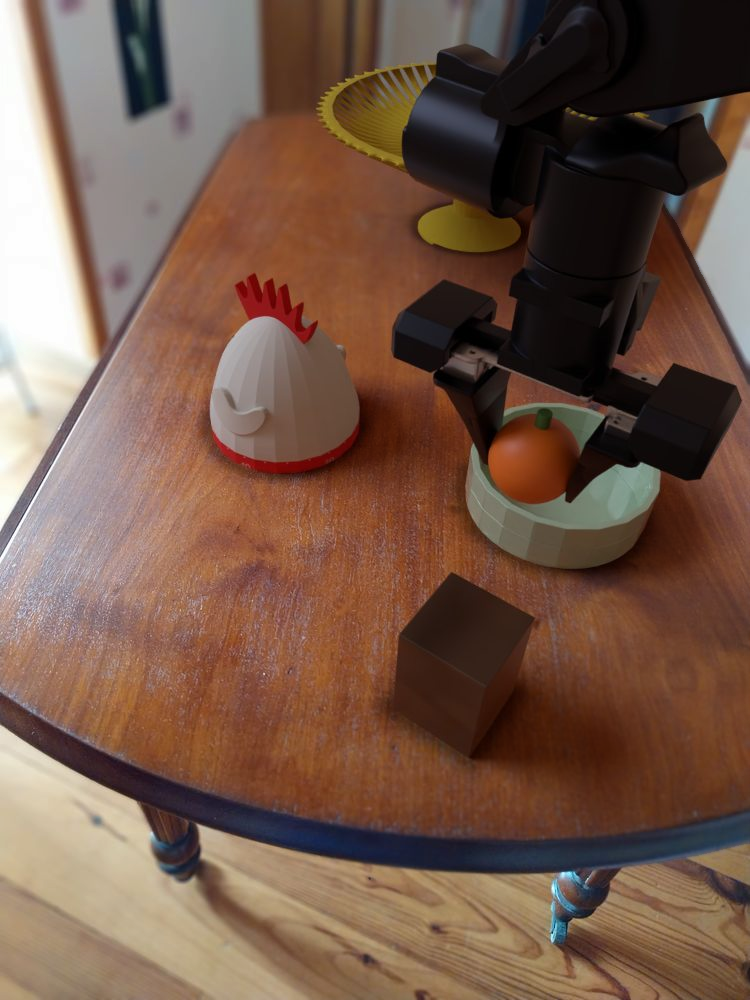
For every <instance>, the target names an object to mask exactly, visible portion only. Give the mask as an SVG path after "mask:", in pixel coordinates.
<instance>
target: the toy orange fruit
mask: <svg viewBox="0 0 750 1000" xmlns="http://www.w3.org/2000/svg"><path fill="white" fill-rule="evenodd" d="M552 416H553V413H552V411H551V410H549V409H546V408H541V409H539V410H538V412H537V414H527V415H522V416H519V417H517V418H514V419H512V420H511V421H509V422H508V423H506V424H505V425H504V426H503V427H502V428H501V429H500V430H499V431H498V432H497V434H496V435H495V437H494V439H493V441H492V443H491V446H490V449H489V455H488V464H489V470H490V473H491V476H492V478H493V480H494V482H495V484H496V485H497V487H498V488H499V489H500V490H501V491H502V492H503V493H504V494H505V495H507V496H508V497H510V498H512V499H513V500H516V501H518V502H521V503H526V504H541V503H546V502H549V501H552V500H554V499H556V498H558V497H560V496H561V495H562V494H564V493H565V492H566V488H567V486H568V483H569V481H570V479H571V476H572V474H573V471H574V469H575V467H576V464H577V462H578V459H579V457H580V449H579V445H578V443H577V440H576V438H575V436H574V435H573V433H572V432H571V431H570V429H569V428H568V427H567V426H566V425H565V424H563V423H562V422H561V421H559V420H557V419H555V418H553V417H552Z"/></svg>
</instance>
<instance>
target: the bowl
mask: <svg viewBox="0 0 750 1000" xmlns="http://www.w3.org/2000/svg"><path fill="white" fill-rule="evenodd" d="M541 408H546V409H549V410H551V411H552V413H553V416H552V417H553V418H555V419H557V420H559V421H561V422H562V423H563V424H565V425H566V426H567V427H568V428H569V429H570V431H571V432H572V433H573V435H574V436H575V438H576V440H577V443H578V445H579V449H580V454H581V452H582V450H583V447H584V445H585V443H586V442H587V440H588V439H589V438H590V436H591V435H592V434H593V432H594V431H595V430H596V428H597V427H598V426H599V424H600V423H601V422H602V420H603V419H604V418H605V413H601V412H599V411H596V410H594V409H592V408H588V407H583V406H578V405H574V404H569V403H562V402H533V403H528V404H522V405H517V406H512V407H509V408H507V409H504V417H503V425H502V427H503V426H504V425H505V424H506V423H508V422H509V421H511V420H512V419H514V418H517V417H519V416H522V415H527V414H537V412H538V410H539V409H541ZM661 475H662V471H661V470H658V469H656V468H654V467H651V466H649V465H647V464H644V463H642V462H641V463H640V464H639V466H637V467H635V468H627V467H624V466H622V465H618V464H616V465H615V466H613V467H612V468H610V469H608V470H607V471H605V472H604V473H602V474H601V475H599V476H598V477H596V478H595V479H594V480H592V481H591V482H590V483H589V484H588V485H587V487H586V488H585V489H584V490H583V491H582V492H581V493H580V494H579V495H578V496H577V497H576V498H575V499H574V500H573V501H572V502H571V503H568V502H566V501H565V494H566V492H565V493H564V494H562V495H561V496H560V497H558V498H556V499H554V500H552V501H549V502H546V503H541V504H526V503H521V502H518V501H516V500H513V499H512V498H510V497H508V496H507V495H505V494H504V493H503V492H502V491H501V490H500V489H499V488H498V487H497V485H496V484H495V482H494V480H493V478H492V476H491V473H490V470H489V465H486V464H483V462H482V460H481V458H480V456H479V454H478V452H477V449H476V447H475V445H474V443H473V442H472V445H471V448H470V452H469V460H468V465H467V473H466V478H465V485H464V489H465V490H464V491H465V503H466V507H467V510H468V512H469V514H470V517H471V519H472V520H473V522H474V523H475V525H476V526H477V528H478V529H479V530H480V531H481V532H482V533H483V535H484V536H486V538H488V539H489V540H490V541H491V542H492V543H493V544H495V546H498V547H499V548H500V549H502V550H503V551H505V552H507V553H508V554H511V555H513V556H514V557H516V558H519V559H521V560H523V561H527V562H528V563H529V562H530V563H532V564H536V565H540V566H543V567H548V568H553V569H554V568H556V569H565V570H566V569H569V570H577V569H588V568H594V567H598V566H601V565H606V564H608V563H611V562H613V561H615V560H617V559H618V558H620V557H622V556H624V555H625V554H627V552H629V550H631V549H632V548H633V547H634V546H635V544H636V543H637V542H638V541H639V538H640V536H641V534H642V533H643V532H644V530H645V528H646V525H647V523H648V520H649V518H650V515H651V513H652V510H653V508H654V506H655V503H656V501H657V499H658V496H659V494H660V492H661V491H660V490H661V477H662V476H661Z"/></svg>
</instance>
